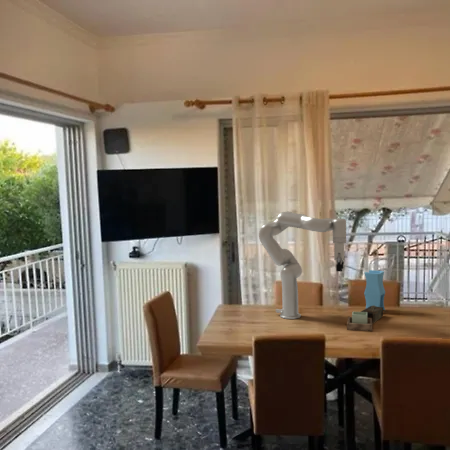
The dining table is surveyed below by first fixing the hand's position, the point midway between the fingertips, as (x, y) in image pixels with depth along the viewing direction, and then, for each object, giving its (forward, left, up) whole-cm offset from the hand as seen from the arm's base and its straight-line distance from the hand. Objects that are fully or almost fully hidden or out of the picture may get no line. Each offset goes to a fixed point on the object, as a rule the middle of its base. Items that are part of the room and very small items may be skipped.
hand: (339, 269), depth 260 cm
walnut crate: (+11, -8, -30) cm, 33 cm away
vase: (+19, +28, -31) cm, 46 cm away
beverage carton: (+17, +9, -31) cm, 36 cm away
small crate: (+11, -8, -30) cm, 33 cm away
